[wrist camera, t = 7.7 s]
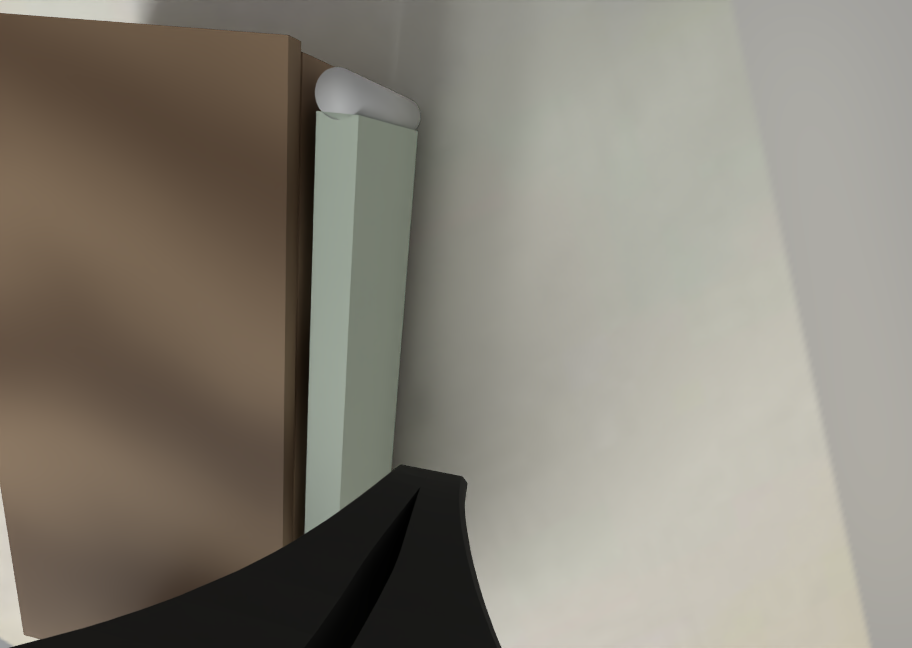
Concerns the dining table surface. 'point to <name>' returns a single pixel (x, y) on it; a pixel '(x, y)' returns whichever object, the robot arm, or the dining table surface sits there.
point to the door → (356, 285)
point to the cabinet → (150, 308)
